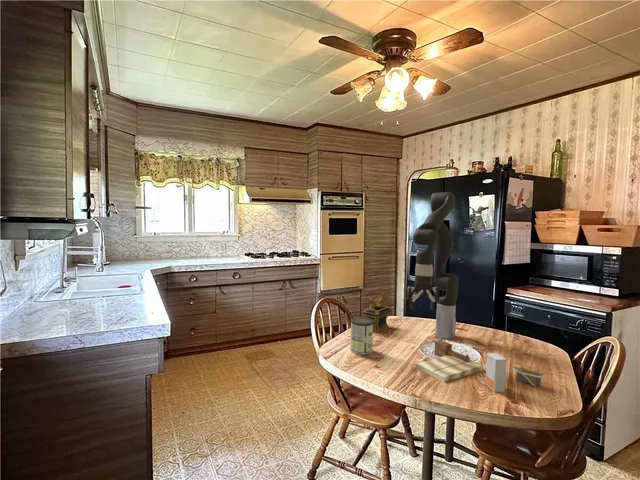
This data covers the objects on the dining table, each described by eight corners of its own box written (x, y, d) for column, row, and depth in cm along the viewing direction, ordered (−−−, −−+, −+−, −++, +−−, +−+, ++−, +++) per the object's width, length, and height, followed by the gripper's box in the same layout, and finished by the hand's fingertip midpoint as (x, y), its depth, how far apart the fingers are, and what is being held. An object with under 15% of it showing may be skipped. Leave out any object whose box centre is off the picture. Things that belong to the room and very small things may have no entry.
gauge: (438, 352, 163) (439, 339, 163) (471, 365, 149) (471, 351, 149) (432, 353, 161) (433, 341, 161) (464, 367, 147) (465, 353, 147)
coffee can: (352, 345, 169) (353, 316, 169) (374, 348, 166) (375, 318, 165) (347, 352, 160) (348, 321, 159) (370, 356, 156) (371, 324, 156)
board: (454, 357, 157) (454, 353, 157) (483, 369, 145) (483, 364, 145) (415, 368, 145) (416, 363, 145) (443, 382, 133) (444, 376, 133)
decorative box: (377, 333, 187) (378, 297, 186) (361, 329, 193) (362, 294, 192) (394, 325, 203) (396, 291, 202) (379, 322, 209) (381, 289, 208)
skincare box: (484, 384, 132) (486, 352, 132) (495, 384, 133) (497, 352, 132) (493, 392, 126) (495, 359, 125) (505, 392, 127) (507, 359, 126)
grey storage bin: (556, 398, 124) (557, 380, 124) (499, 384, 134) (500, 367, 133) (556, 385, 134) (557, 368, 133) (503, 373, 144) (504, 357, 143)
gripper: (436, 272, 163) (434, 307, 164) (405, 272, 162) (404, 307, 163) (442, 275, 155) (441, 312, 156) (410, 275, 154) (409, 312, 155)
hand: (422, 309), depth 160 cm, fingers open, 8 cm apart
